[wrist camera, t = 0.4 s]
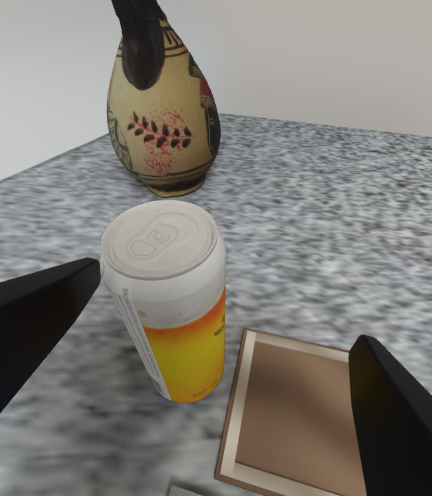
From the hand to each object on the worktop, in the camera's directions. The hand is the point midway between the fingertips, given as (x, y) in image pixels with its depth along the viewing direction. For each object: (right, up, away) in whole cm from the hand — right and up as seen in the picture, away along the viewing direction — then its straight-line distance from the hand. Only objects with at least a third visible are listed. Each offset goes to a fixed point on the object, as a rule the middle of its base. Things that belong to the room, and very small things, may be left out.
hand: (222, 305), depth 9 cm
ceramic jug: (-7, +12, +35) cm, 38 cm away
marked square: (+6, -10, +11) cm, 17 cm away
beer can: (-3, -8, +14) cm, 16 cm away
